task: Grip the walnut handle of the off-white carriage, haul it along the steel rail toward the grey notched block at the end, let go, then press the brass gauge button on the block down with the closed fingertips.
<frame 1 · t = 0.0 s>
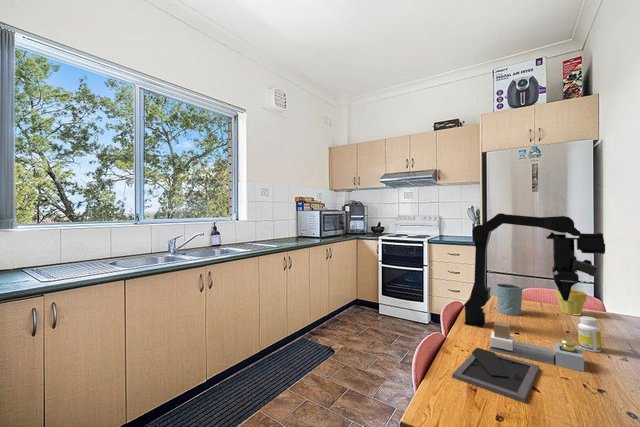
hand: (565, 297, 102), 15 cm above the table, fingers open, 9 cm apart
rail: (521, 352, 93), on the table
teal embossed planter: (509, 313, 133), on the table
supplement bottle: (589, 349, 95), on the table
button: (568, 347, 86), point 4 cm above the table, slide at 0.0 cm
picture frame: (496, 376, 81), on the table
grey notched block: (568, 362, 86), on the table
carriage: (502, 334, 96), point 4 cm above the table, slide at 0.0 cm
plant pot: (571, 314, 131), on the table
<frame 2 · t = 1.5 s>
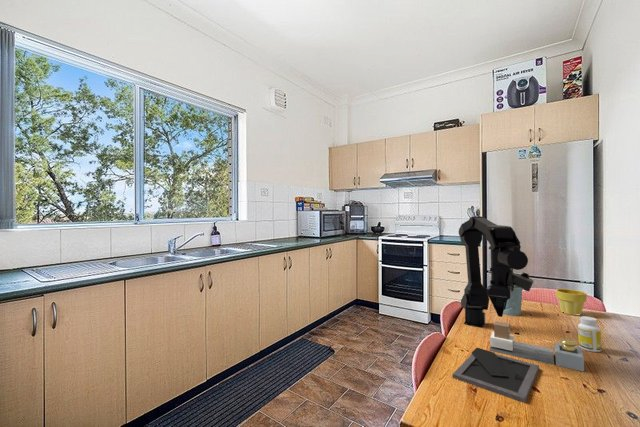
hand: (501, 312, 96), 11 cm above the table, fingers open, 9 cm apart
nothing on the table moved.
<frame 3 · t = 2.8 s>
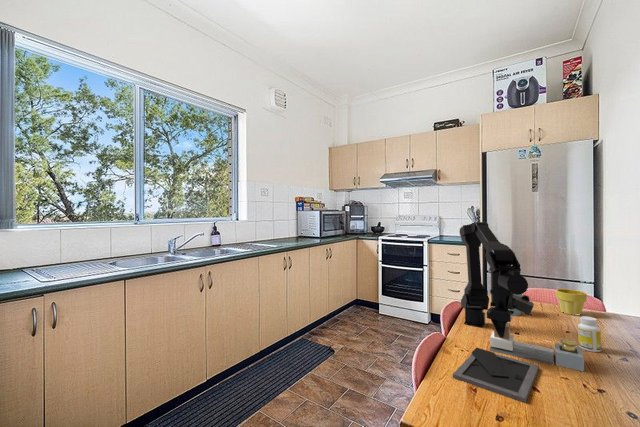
hand: (502, 335, 96), 4 cm above the table, fingers closed on carriage, 4 cm apart
carriage: (502, 334, 96), point 4 cm above the table, slide at 0.0 cm, touching gripper
everything else where it was.
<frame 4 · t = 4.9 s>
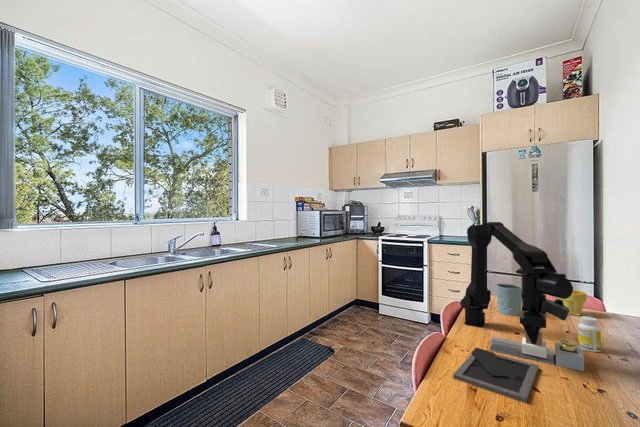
hand: (534, 341, 91), 4 cm above the table, fingers closed on carriage, 4 cm apart
carriage: (534, 340, 91), point 4 cm above the table, slide at 8.4 cm, touching gripper
everything else where it was.
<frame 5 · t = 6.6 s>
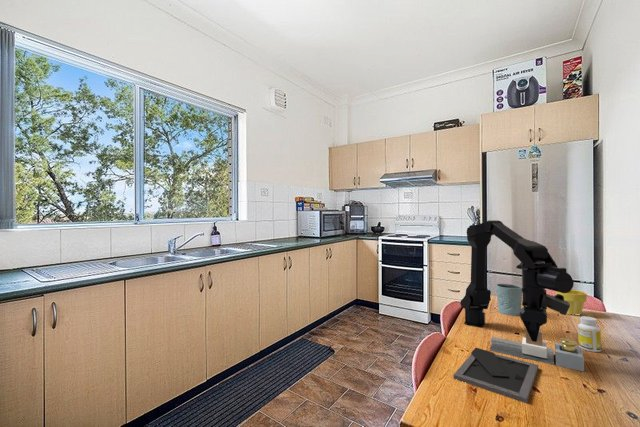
hand: (534, 336, 91), 6 cm above the table, fingers open, 9 cm apart
carriage: (534, 340, 91), point 4 cm above the table, slide at 8.4 cm
everything else where it was.
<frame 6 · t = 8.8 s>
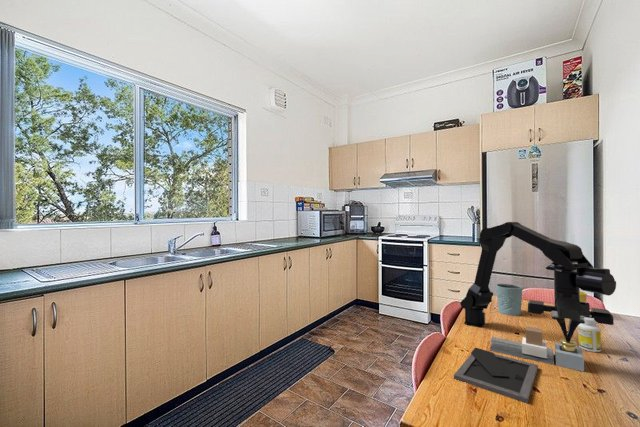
hand: (567, 341, 86), 6 cm above the table, fingers closed, pressing on button
button: (568, 347, 86), point 4 cm above the table, slide at 0.2 cm, touching gripper
everything else where it was.
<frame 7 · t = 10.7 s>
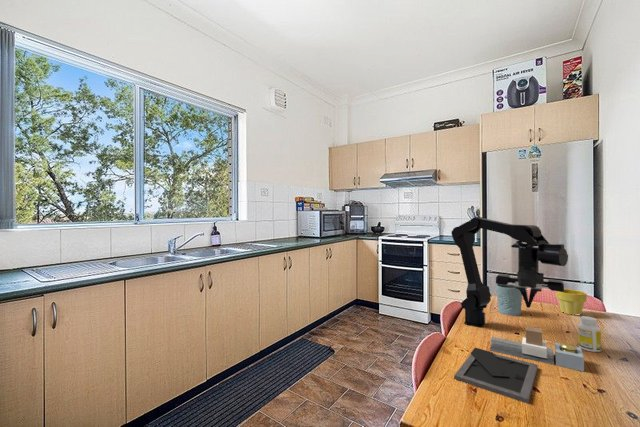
hand: (528, 307, 101), 12 cm above the table, fingers closed
button: (568, 352, 86), point 3 cm above the table, slide at 1.4 cm
everything else where it was.
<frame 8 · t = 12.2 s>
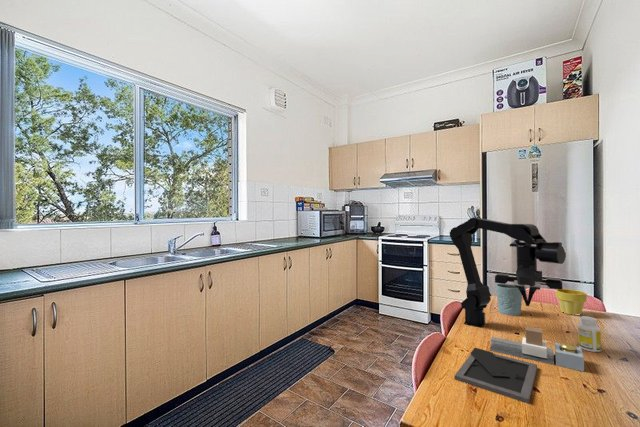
hand: (527, 305, 102), 12 cm above the table, fingers closed
nothing on the table moved.
at the end: carriage slide at 8.4 cm; button slide at 1.4 cm; the gripper is holding nothing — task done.
